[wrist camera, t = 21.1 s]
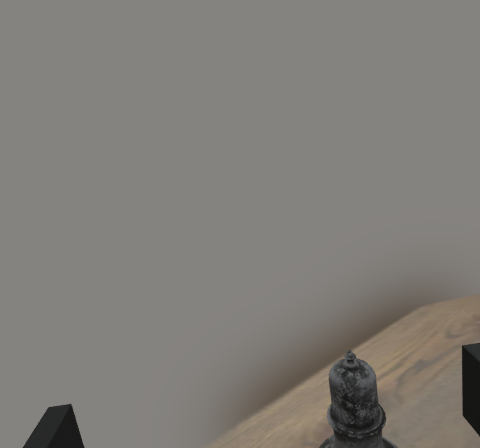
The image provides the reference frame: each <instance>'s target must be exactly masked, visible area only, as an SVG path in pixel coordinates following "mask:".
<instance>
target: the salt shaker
mask: <svg viewBox="0 0 480 448" xmlns="http://www.w3.org/2000/svg"><path fill="white" fill-rule="evenodd" d="M344 357H345V359H342V360H339V361H338V362H336V363H335V364H334V365H333V366H332V368H331V369H330V373H329V384H330V393H331V402H332V404H331V405H330V406H329V408H328V411H327V418H328V422H329V424H330V425H331V427H332V428H333V430H334V435H332V436H331V437H329V438H328V439H326V440H325V441H324V443H323V444H322V445H321V446H320V447H319V448H398V447H397V446H396V445H395V444H393V443H392V442H391V441H389V440H388V439H386V438H385V437H383V436H382V429H383V427H384V426H385V422H386V416H385V412H384V410H383V408H382V407H381V406H380V405H379V404H378V396H377V384H376V375H375V372H374V370H373V368H372V367H371V366H370V365H369V364H368V363H367V362H365V361H363V360H360V359H357V358H356V355H355V354H353V352H351V350H348V352H347V353H346V354H345V355H344Z"/></svg>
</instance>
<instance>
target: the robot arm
mask: <svg viewBox="0 0 480 448" xmlns="http://www.w3.org/2000/svg"><path fill="white" fill-rule="evenodd" d="M462 393H463V416H464V418H465V419H466V420H467V421H468V423H469V424H470V425H471V426H472V427H473V429H474V430H475V431H476V432H477V434H478V435H479V436H480V343H476V344H469V345H462ZM23 448H84V445H83V442H82V438H81V435H80V432H79V428H78V425H77V422H76V419H75V415H74V412H73V408H72V405H71V404H68V405H61V406H54V407H49V408H48V409H47V411H46V412H45V414H44V415H43V417H42V418H41V420H40V422H39V423H38V425H37V426H36V428H35V429H34V431H33V432H32V434H31V436H30V437H29V439H28V440H27V442H26V443H25V445H24V447H23Z"/></svg>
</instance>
